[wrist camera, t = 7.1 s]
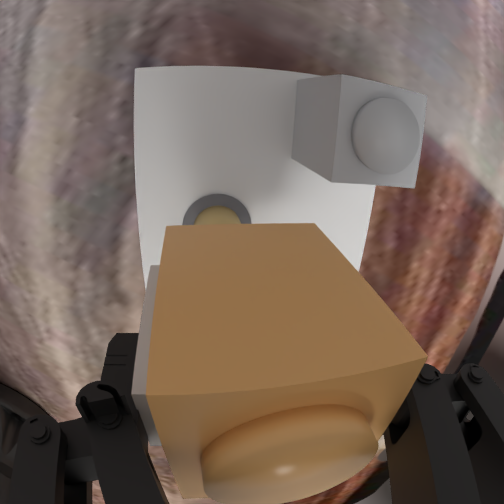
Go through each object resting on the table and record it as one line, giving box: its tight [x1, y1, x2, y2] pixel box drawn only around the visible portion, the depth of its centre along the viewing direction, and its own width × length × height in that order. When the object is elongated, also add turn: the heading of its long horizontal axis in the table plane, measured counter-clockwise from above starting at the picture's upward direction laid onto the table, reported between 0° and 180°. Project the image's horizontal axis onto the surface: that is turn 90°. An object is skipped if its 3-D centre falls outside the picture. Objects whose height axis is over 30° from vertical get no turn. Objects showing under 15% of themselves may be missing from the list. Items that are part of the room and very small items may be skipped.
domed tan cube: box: [146, 223, 428, 504], centre depth 10 cm, size 6×6×9 cm
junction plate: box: [134, 66, 376, 289], centre depth 18 cm, size 16×16×6 cm
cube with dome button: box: [291, 74, 427, 188], centre depth 16 cm, size 5×5×7 cm
